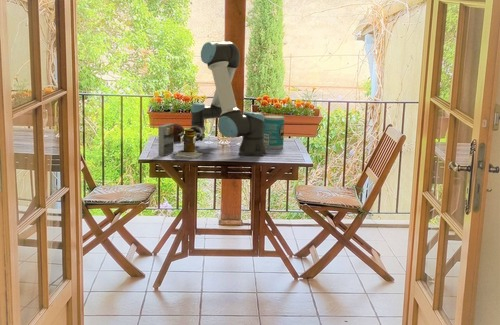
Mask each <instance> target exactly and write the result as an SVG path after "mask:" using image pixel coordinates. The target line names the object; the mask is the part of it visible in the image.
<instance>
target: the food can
mask: <svg viewBox="0 0 500 325" xmlns="http://www.w3.org/2000/svg"><path fill="white" fill-rule="evenodd" d="M284 135H285V116H283V115H279V114H278V115H277V114H269V115H264V135H263V141H264V144H265V148H266V149H271V150H278V149H282V148H284V139H285V138H284Z"/></svg>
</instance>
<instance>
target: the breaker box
mask: <svg viewBox="0 0 500 325" xmlns="http://www.w3.org/2000/svg"><path fill="white" fill-rule="evenodd" d="M174 124H175V123H171V122H170V123H165V124H161V125H158V157H165V156H167V155H171V154H172V153H174V144H175V143H174Z"/></svg>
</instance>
